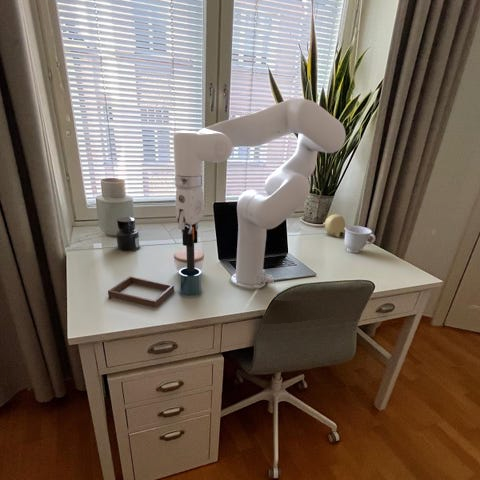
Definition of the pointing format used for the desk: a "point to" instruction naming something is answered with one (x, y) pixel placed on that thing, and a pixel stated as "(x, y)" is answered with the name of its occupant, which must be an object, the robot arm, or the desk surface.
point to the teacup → (357, 238)
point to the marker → (190, 256)
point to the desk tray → (139, 300)
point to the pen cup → (190, 282)
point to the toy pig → (335, 225)
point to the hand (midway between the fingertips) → (190, 243)
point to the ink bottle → (127, 234)
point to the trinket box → (181, 259)
